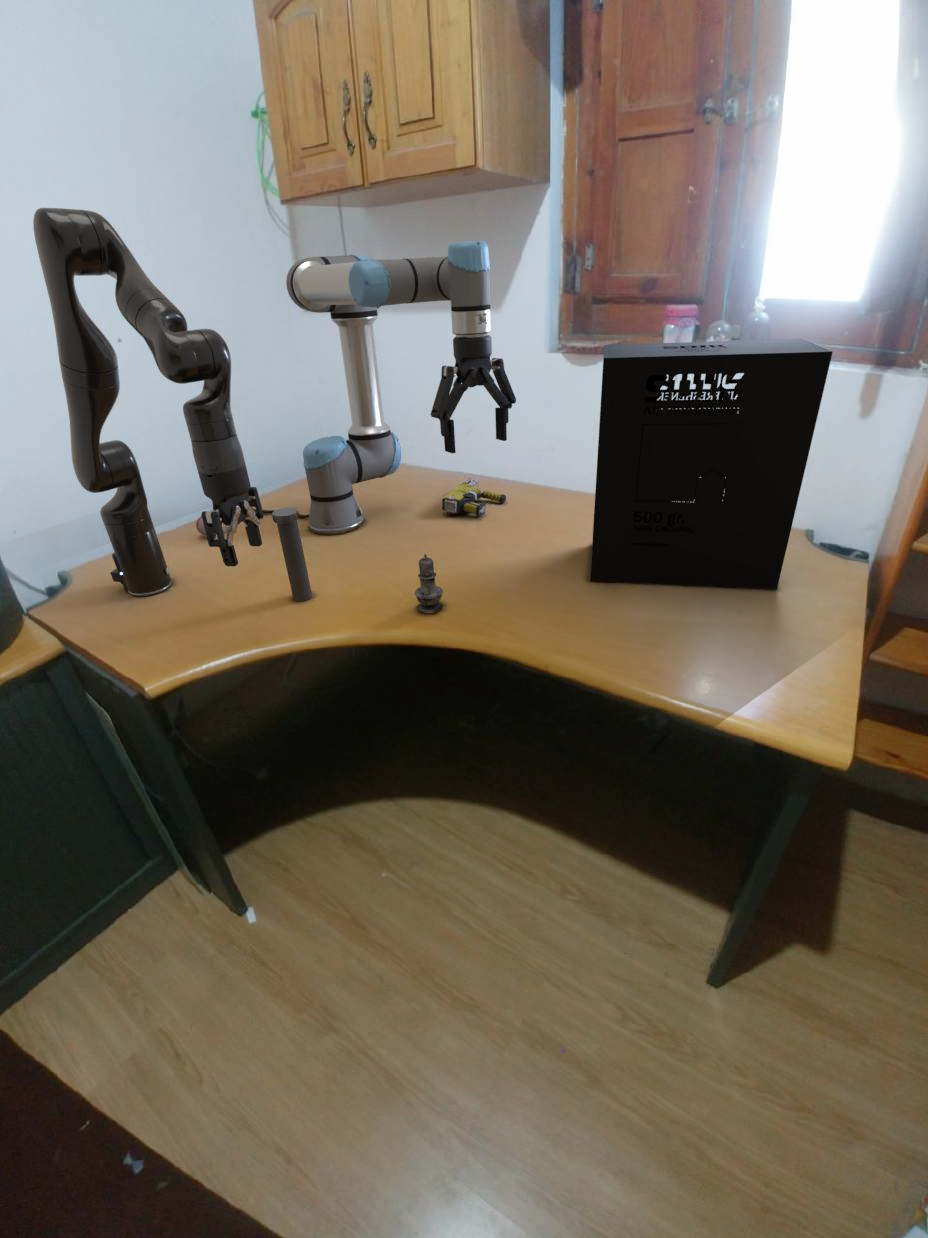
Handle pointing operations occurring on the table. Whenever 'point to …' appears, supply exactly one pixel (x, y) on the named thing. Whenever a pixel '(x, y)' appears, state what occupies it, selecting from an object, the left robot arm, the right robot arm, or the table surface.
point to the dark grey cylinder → (295, 561)
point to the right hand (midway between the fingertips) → (476, 445)
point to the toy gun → (468, 499)
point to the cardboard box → (703, 460)
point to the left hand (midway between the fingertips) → (244, 555)
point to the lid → (285, 515)
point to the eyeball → (201, 526)
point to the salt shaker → (428, 588)
